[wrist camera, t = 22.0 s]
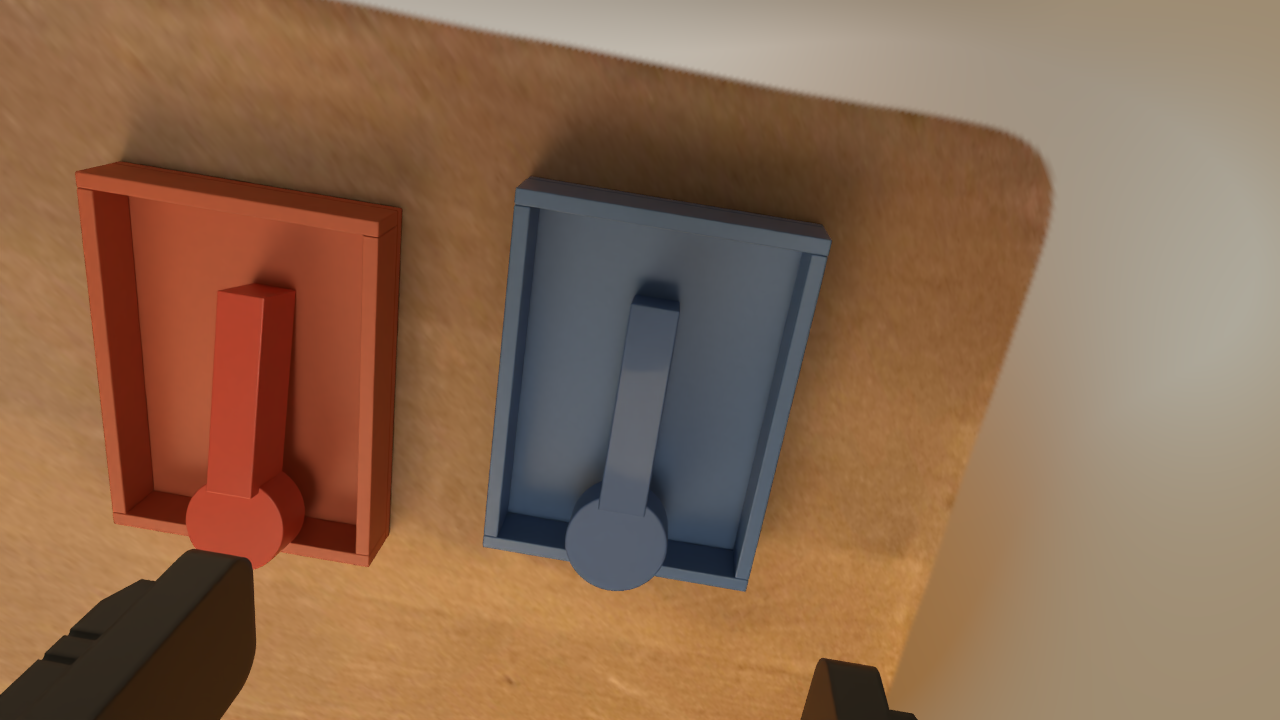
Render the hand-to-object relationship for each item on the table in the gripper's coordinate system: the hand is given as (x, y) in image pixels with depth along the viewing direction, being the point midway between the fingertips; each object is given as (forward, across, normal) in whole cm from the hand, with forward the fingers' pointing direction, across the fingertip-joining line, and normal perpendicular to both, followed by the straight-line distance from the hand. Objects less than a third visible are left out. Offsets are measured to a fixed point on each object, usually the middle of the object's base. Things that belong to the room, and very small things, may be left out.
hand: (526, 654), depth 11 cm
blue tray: (+22, -1, +5) cm, 23 cm away
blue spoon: (+21, -1, +6) cm, 22 cm away
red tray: (+22, +15, +7) cm, 28 cm away
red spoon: (+20, +14, +8) cm, 26 cm away
